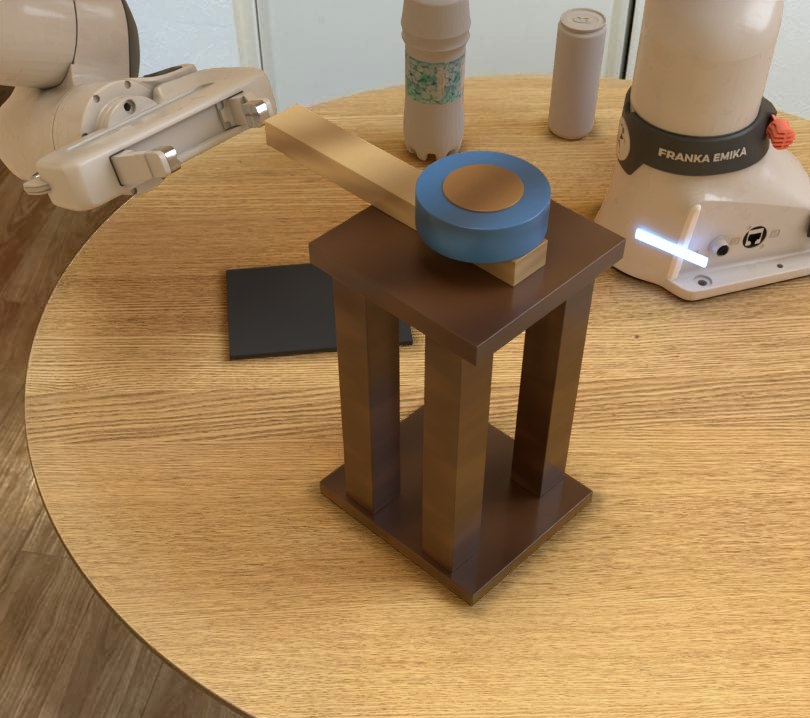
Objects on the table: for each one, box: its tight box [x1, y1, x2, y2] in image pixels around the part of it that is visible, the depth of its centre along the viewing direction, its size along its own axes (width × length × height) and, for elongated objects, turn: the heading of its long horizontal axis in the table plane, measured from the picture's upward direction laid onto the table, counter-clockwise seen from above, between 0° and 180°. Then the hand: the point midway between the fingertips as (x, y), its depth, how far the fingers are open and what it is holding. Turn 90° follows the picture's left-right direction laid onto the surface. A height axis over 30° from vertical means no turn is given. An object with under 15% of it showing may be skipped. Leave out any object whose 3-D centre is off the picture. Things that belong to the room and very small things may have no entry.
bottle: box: [400, 0, 472, 161], centre depth 113 cm, size 7×7×20 cm
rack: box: [307, 151, 626, 607], centre depth 81 cm, size 16×14×24 cm
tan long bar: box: [264, 103, 552, 287], centre depth 73 cm, size 22×8×4 cm, turn 46°
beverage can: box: [547, 7, 608, 140], centre depth 118 cm, size 5×5×12 cm
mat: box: [225, 262, 414, 361], centre depth 104 cm, size 16×12×1 cm
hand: (219, 136), depth 85 cm, fingers open, 8 cm apart
